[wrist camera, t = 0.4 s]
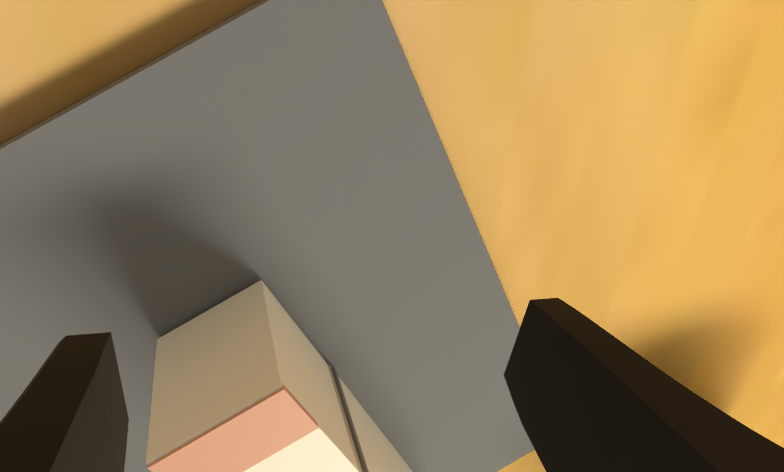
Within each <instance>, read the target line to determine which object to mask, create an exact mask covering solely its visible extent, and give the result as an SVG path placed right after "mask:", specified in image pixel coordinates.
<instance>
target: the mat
mask: <svg viewBox="0 0 784 472" xmlns="http://www.w3.org/2000/svg"><path fill="white" fill-rule="evenodd" d="M260 280H262V281H263V282H264V284H265V285H266V286H267V287H268V289H269V290H270V291H271V293H272V294H273V295H274V296H275V298H276V299H277V300H278V302H279V303H280V304H281V305H282V307H283V308H284V309H285V310H286V312H287V313H288V314H289V316H290V317H291V318H292V319H293V321H294V322H295V323H296V325H297V326H298V327H299V328H300V330H301V331H302V332H303V334H304V335H305V336H306V337H307V339H308V340H309V341H310V342H311V344H312V345H313V346H314V348H315V349H316V350H317V351H318V353H319V354H320V355H321V357H322V358H323V359H324V360H325V362H326V363H327V365H330V366H331V367H334V368H335V369H336V371H337V373H338V376H339V378H340V379H341V380H342V381H343V383H344V384H345V385H346V387H347V388H348V389H349V390H350V392H351V393H352V394H353V396H354V397H355V398H356V399H357V401H358V402H359V403H360V405H361V406H362V407H363V408H364V410H365V411H366V412H367V414H368V415H369V416H370V417H371V419H372V420H373V421H374V423H375V424H376V425H377V426H378V428H379V429H380V430H381V432H382V433H383V434H384V435H385V437H386V438H387V439H388V440H389V442H390V443H391V444H392V446H393V447H394V448H395V449H396V451H397V452H398V453H399V455H400V456H401V457H402V458H403V460H404V461H405V462H406V464H407V465H408V466H409V467H410V469H411V470H412V471H413V472H497V471H499V470H500V469H502V468H504V467H505V466H507V465H509V464H511V463H512V462H514V461H516V460H517V459H519V458H521V457H522V456H524V455H526V454H527V453H529V452H531V451H533V450H534V447H533V445H532V443H531V441H530V439H529V437H528V435H527V433H526V431H525V429H524V427H523V425H522V423H521V421H520V418H519V415H518V413H517V410H516V408H515V405H514V403H513V400H512V397H511V394H510V391H509V389H508V386H507V383H506V380H505V377H504V372H505V369H506V367H507V364H508V361H509V358H510V355H511V352H512V350H513V347H514V344H515V341H516V338H517V335H518V333H519V330H520V328H519V326H518V323H517V321H516V318H515V316H514V314H513V311H512V309H511V307H510V304H509V302H508V299H507V297H506V295H505V292H504V290H503V287H502V285H501V283H500V280H499V278H498V276H497V273H496V271H495V268H494V266H493V264H492V261H491V259H490V257H489V254H488V252H487V249H486V247H485V245H484V242H483V240H482V238H481V235H480V233H479V230H478V228H477V226H476V223H475V221H474V218H473V216H472V214H471V211H470V209H469V207H468V204H467V202H466V199H465V197H464V195H463V192H462V190H461V188H460V185H459V183H458V180H457V178H456V176H455V173H454V171H453V168H452V166H451V164H450V161H449V159H448V157H447V154H446V152H445V149H444V147H443V145H442V142H441V140H440V138H439V135H438V133H437V130H436V128H435V126H434V123H433V121H432V119H431V116H430V114H429V111H428V109H427V107H426V104H425V102H424V99H423V97H422V95H421V92H420V90H419V88H418V85H417V83H416V80H415V78H414V76H413V73H412V71H411V69H410V66H409V64H408V61H407V59H406V57H405V54H404V52H403V50H402V47H401V45H400V42H399V40H398V38H397V35H396V33H395V30H394V28H393V26H392V23H391V21H390V19H389V16H388V14H387V11H386V9H385V7H384V4H383V2H382V0H260V1H258V2H257V3H255V4H253V5H251V6H249V7H248V8H246V9H244V10H242V11H240V12H239V13H237V14H235V15H233V16H231V17H229V18H228V19H226V20H224V21H222V22H220V23H219V24H217V25H215V26H213V27H211V28H210V29H208V30H206V31H204V32H202V33H201V34H199V35H197V36H195V37H193V38H192V39H190V40H188V41H186V42H184V43H183V44H181V45H179V46H177V47H175V48H174V49H172V50H170V51H168V52H166V53H164V54H163V55H161V56H159V57H157V58H155V59H154V60H152V61H150V62H148V63H146V64H145V65H143V66H141V67H139V68H137V69H136V70H134V71H132V72H130V73H128V74H127V75H125V76H123V77H121V78H119V79H118V80H116V81H114V82H112V83H110V84H109V85H107V86H105V87H103V88H101V89H99V90H98V91H96V92H94V93H92V94H90V95H89V96H87V97H85V98H83V99H81V100H80V101H78V102H76V103H74V104H72V105H71V106H69V107H67V108H65V109H63V110H62V111H60V112H58V113H56V114H54V115H53V116H51V117H49V118H47V119H45V120H44V121H42V122H40V123H38V124H36V125H34V126H33V127H31V128H29V129H27V130H25V131H24V132H22V133H20V134H18V135H16V136H15V137H13V138H11V139H9V140H7V141H6V142H4V143H2V144H0V422H1V420H2V419H3V418H4V416H5V415H6V414H7V412H8V411H9V410H10V409H11V407H12V406H13V405H14V403H15V402H16V401H17V399H18V398H19V397H20V395H21V394H22V393H23V391H24V390H25V389H26V387H27V386H28V385H29V383H30V382H31V381H32V379H33V378H34V376H35V375H36V374H37V372H38V371H39V369H40V368H41V367H42V365H43V364H44V363H45V361H46V360H47V358H48V357H49V355H50V354H51V353H52V351H53V350H54V348H55V347H56V346H57V344H58V343H59V341H61V340H62V339H63V338H64V337H65V336H67V335H80V334H93V333H106V332H111V334H112V339H113V344H114V349H115V354H116V359H117V364H118V369H119V374H120V378H121V383H122V388H123V393H124V398H125V403H126V408H127V413H128V418H129V423H128V435H127V447H126V458H125V468H124V472H152V471H150V470H149V469H148V468H147V467H148V464H146V457H147V446H148V434H149V423H150V412H151V401H152V390H153V379H154V368H155V357H156V346H157V339H159V338H160V337H162V336H164V335H166V334H167V333H169V332H171V331H173V330H174V329H176V328H178V327H180V326H181V325H183V324H185V323H187V322H188V321H190V320H192V319H194V318H195V317H197V316H199V315H201V314H202V313H204V312H206V311H208V310H209V309H211V308H213V307H215V306H216V305H218V304H220V303H222V302H223V301H225V300H227V299H229V298H230V297H232V296H234V295H236V294H237V293H239V292H241V291H243V290H244V289H246V288H248V287H250V286H251V285H253V284H255V283H257V282H258V281H260Z"/></svg>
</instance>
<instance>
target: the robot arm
mask: <svg viewBox="0 0 784 472" xmlns="http://www.w3.org/2000/svg"><path fill="white" fill-rule="evenodd" d="M504 377H505V380H506V383H507V386H508V389H509V391H510V394H511V397H512V400H513V403H514V405H515V408H516V410H517V413H518V415H519V418H520V421H521V423H522V425H523V427H524V429H525V431H526V433H527V435H528V437H529V439H530V441H531V443H532V445H533V447H534V449H535V451H536V453H537V455H538V456H539V458H540V460H541V462H542V464H543V466H544V468H545V470H546V472H784V448H782V447H781V446H779V445H777V444H775V443H774V442H772V441H770V440H769V439H767V438H765V437H763V436H762V435H760V434H758V433H756V432H755V431H753V430H751V429H750V428H748V427H746V426H745V425H743V424H742V423H740V422H738V421H737V420H735V419H733V418H732V417H730V416H729V415H727V414H726V413H724V412H723V411H721V410H719V409H718V408H716V407H715V406H713V405H712V404H710V403H709V402H707V401H706V400H704V399H702V398H701V397H699V396H698V395H696V394H695V393H693V392H692V391H690V390H689V389H687V388H686V387H684V386H683V385H682V384H680V383H679V382H677V381H676V380H674V379H673V378H671V377H670V376H668V375H667V374H666V373H664V372H663V371H661V370H660V369H658V368H657V367H656V366H654V365H653V364H651V363H650V362H648V361H647V360H646V359H644V358H643V357H641V356H640V355H639V354H637V353H636V352H635V351H633V350H632V349H630V348H629V347H628V346H626V345H625V344H623V343H622V342H621V341H619V340H618V339H616V338H615V337H614V336H612V335H611V334H610V333H608V332H607V331H605V330H604V329H603V328H601V327H600V326H599V325H597V324H596V323H594V322H593V321H591V320H590V319H589V318H587V317H586V316H584V315H583V314H582V313H580V312H579V311H577V310H576V309H574V308H573V307H571V306H570V305H568V304H567V303H565V302H564V301H562V300H561V299H559V298H550V299H537V300H530V301H529V304H528V307H527V310H526V313H525V315H524V318H523V321H522V324H521V327H520V330H519V333H518V335H517V338H516V341H515V344H514V347H513V350H512V352H511V355H510V358H509V361H508V364H507V367H506V369H505V372H504ZM128 423H129V418H128V413H127V408H126V403H125V398H124V393H123V388H122V383H121V378H120V374H119V369H118V364H117V359H116V354H115V349H114V344H113V339H112V334H111V332H106V333H93V334H80V335H67V336H65V337H64V338H63V339H62V340H61V341H59V343H58V344H57V346H56V347H55V348H54V350H53V351H52V353H51V354H50V355H49V357H48V358H47V360H46V361H45V363H44V364H43V365H42V367H41V368H40V369H39V371H38V372H37V374H36V375H35V376H34V378H33V379H32V381H31V382H30V383H29V385H28V386H27V387H26V389H25V390H24V391H23V393H22V394H21V395H20V397H19V398H18V399H17V401H16V402H15V403H14V405H13V406H12V407H11V409H10V410H9V411H8V412H7V414H6V415H5V416H4V418H3V419H2V420H1V422H0V472H124V468H125V458H126V447H127V435H128Z"/></svg>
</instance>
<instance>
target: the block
mask: <svg viewBox="0 0 784 472" xmlns="http://www.w3.org/2000/svg"><path fill="white" fill-rule="evenodd" d="M146 464H148V467H147V468H148V469H149V470H150V471H152V472H359V468H358V465H357V462H356V458H355V455H354V452H353V448H352V445H351V442H350V438H349V435H348V432H347V428H346V425H345V422H344V418H343V415H342V412H341V408H340V405H339V402H338V398H337V395H336V392H335V388H334V385H333V382H332V379H331V375H330V372H329V369H328V365H327V363H326V362H325V360H324V359H323V358H322V357H321V355H320V354H319V353H318V351H317V350H316V349H315V348H314V346H313V345H312V344H311V342H310V341H309V340H308V339H307V337H306V336H305V335H304V334H303V332H302V331H301V330H300V328H299V327H298V326H297V325H296V323H295V322H294V321H293V319H292V318H291V317H290V316H289V314H288V313H287V312H286V310H285V309H284V308H283V307H282V305H281V304H280V303H279V302H278V300H277V299H276V298H275V296H274V295H273V294H272V293H271V291H270V290H269V289H268V287H267V286H266V285H265V284H264V282H263V281H262V280H260V281H258V282H257V283H255V284H253V285H251V286H250V287H248V288H246V289H244V290H243V291H241V292H239V293H237V294H236V295H234V296H232V297H230V298H229V299H227V300H225V301H223V302H222V303H220V304H218V305H216V306H215V307H213V308H211V309H209V310H208V311H206V312H204V313H202V314H201V315H199V316H197V317H195V318H194V319H192V320H190V321H188V322H187V323H185V324H183V325H181V326H180V327H178V328H176V329H174V330H173V331H171V332H169V333H167V334H166V335H164V336H162V337H160V338H159V339H157V346H156V357H155V368H154V379H153V390H152V401H151V412H150V423H149V434H148V446H147V457H146Z"/></svg>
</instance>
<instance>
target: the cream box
mask: <svg viewBox="0 0 784 472" xmlns="http://www.w3.org/2000/svg"><path fill="white" fill-rule="evenodd" d="M328 369H329V372H330V375H331V379H332V382H333V385H334V388H335V392H336V395H337V398H338V402H339V405H340V408H341V412H342V415H343V418H344V422H345V425H346V428H347V432H348V435H349V438H350V442H351V445H352V448H353V452H354V455H355V458H356V462H357V465H358V468H359V472H413V471H412V470H411V469H410V467H409V466H408V465H407V464H406V462H405V461H404V460H403V458H402V457H401V456H400V455H399V453H398V452H397V451H396V449H395V448H394V447H393V446H392V444H391V443H390V442H389V440H388V439H387V438H386V437H385V435H384V434H383V433H382V432H381V430H380V429H379V428H378V426H377V425H376V424H375V423H374V421H373V420H372V419H371V417H370V416H369V415H368V414H367V412H366V411H365V410H364V408H363V407H362V406H361V405H360V403H359V402H358V401H357V399H356V398H355V397H354V396H353V394H352V393H351V392H350V390H349V389H348V388H347V387H346V385H345V384H344V383H343V381H342V380H341V379H340V378H339V376H338V373H337V371H336V369H335V368H334V367H331V366H330V365H328Z"/></svg>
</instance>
